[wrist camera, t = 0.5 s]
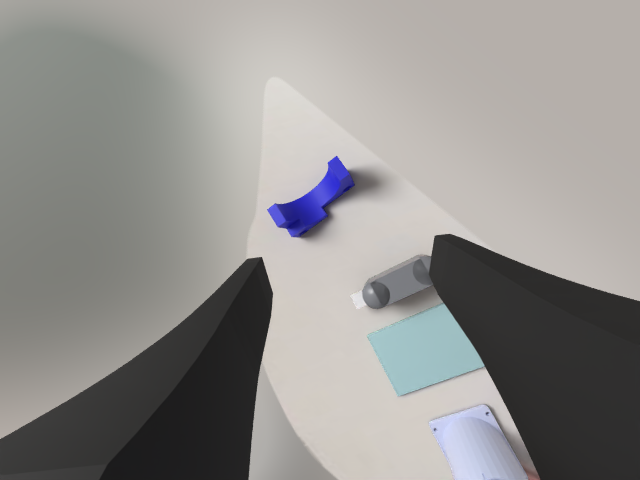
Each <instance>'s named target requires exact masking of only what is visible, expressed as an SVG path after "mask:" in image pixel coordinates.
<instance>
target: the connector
mask: <svg viewBox="0 0 640 480" xmlns="http://www.w3.org/2000/svg"><path fill="white" fill-rule="evenodd" d="M430 262H431V257H429V256H426V255H417V256H415V257H413V258H411V259H409V260H407V261H405V262H403V263H400V264H398V265H396V266H394V267H392V268H390V269H388V270H386V271H384V272H382V273H380V274H378V275H376V276H374V277H372V278H370V279H369V280H368V281H367V282H366V284H365V286H364V289H363V290H360V291H358V292H356V293H354V294H352V295H351V296H350V297H351V299H352V300H353V302H354V304H355V306H356V308H357V309H359V308H361V307H363V306H366V305H368V306H369V307H371V308H375V309H379V308H383V307H385V306H387V305H389V304H392V303H394V302H396V301H398V300H401V299H403V298H405V297H407V296H409V295H412V294H414V293H416V292H418V291H421V290H423V289H425V288H427V287H430V286H432V285H433V283H432V281H431V279H430V276H429V269H430Z"/></svg>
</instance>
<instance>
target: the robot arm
mask: <svg viewBox="0 0 640 480" xmlns="http://www.w3.org/2000/svg"><path fill="white" fill-rule="evenodd" d="M429 276H430V279H431V281H432V283H433V285H434V287H435V289H436V291H437V293H438V295H439V296H440V298H441V299H442V301H443V302H444V304H445V305H446V307H447V308H448V310H449V311H450V313H451V314H452V316H453V317H454V319H455V320H456V322H457V323H458V325H459V326H460V327H461V329H462V330H463V332H464V333H465V335H466V336H467V338H468V339H469V341H470V342H471V344H472V345H473V347H474V348H475V350H476V351H477V353H478V355H479V356H480V358H481V360H482V362H483V364H484V365H485V367H486V369H487V371H488V373H489V375H490V376H491V378H492V380H493V382H494V384H495V386H496V388H497V389H498V391H499V393H500V395H501V397H502V399H503V401H504V403H505V405H506V407H507V409H508V411H509V413H510V415H511V417H512V419H513V421H514V423H515V425H516V427H517V429H518V431H519V433H520V436H521V438H522V440H523V442H524V444H525V446H526V448H527V450H528V452H529V455H530V457H531V459H532V461H533V463H534V466H535V468H536V470H537V472H538V475H539V477H540V479H541V480H640V301H637V300H633V299H629V298H626V297H622V296H618V295H615V294H611V293H607V292H604V291H601V290H597V289H594V288H591V287H587V286H585V285H581V284H578V283H575V282H572V281H569V280H566V279H562V278H560V277H557V276H554V275H551V274H548V273H546V272H543V271H540V270H538V269H535V268H532V267H530V266H527V265H525V264H522V263H519V262H517V261H515V260H512V259H510V258H507V257H505V256H502V255H500V254H498V253H495V252H493V251H491V250H488V249H486V248H484V247H482V246H479V245H477V244H475V243H472V242H470V241H467V240H465V239H463V238H460V237H458V236H455V235H452V234H445V235H436V236H435V238H434V244H433V250H432V256H431V262H430V269H429ZM272 298H273V292H272V289H271V285H270V282H269V279H268V275H267V272H266V269H265V266H264V262H263V259H262V257H258V258H250V259H247V260H246V261H245V262H244V263H243V264H242V265H241V266H240V267H239V268H238V269H237V270H236V271H235V272H234V273H233V274H232V275H231V276H230V277H229V278H228V279H227V280H226V281H225V282H224V283H223V284H222V285H221V287H220V288H218V289H217V290H216V291H215V293H213V294H212V295H211V296H210V297H209V298H208V299H207V300H206V301H205V302H204V303H203V304H202V305H201V306H200V307H199V308H197V309H196V310H195V311H194V312H193V313H192V314H191V315H190V316H189V317H187V318H186V319H185V320H184V321H183V322H181V323H180V324H179V325H178V326H177V327H175V328H174V329H173V330H172V331H170V332H169V333H168V334H166V335H165V336H164V337H162V338H161V339H160V340H158V341H157V342H156V343H154V344H153V345H151V346H150V347H149V348H147V349H146V350H145V351H143V352H142V353H140V354H139V355H138V356H136V357H135V358H133V359H132V360H131V361H129V362H128V363H126V364H125V365H123V366H122V367H120V368H119V369H117V370H116V371H114V372H113V373H111V374H110V375H108V376H107V377H105V378H103V379H102V380H100V381H99V382H97V383H96V384H94V385H92V386H91V387H89V388H88V389H86V390H84V391H83V392H81V393H79V394H78V395H76V396H75V397H73V398H71V399H70V400H68V401H67V402H65V403H63V404H61V405H59V406H58V407H56V408H54V409H52V410H51V411H49V412H47V413H45V414H44V415H42V416H40V417H38V418H37V419H35V420H33V421H32V422H30V423H28V424H26V425H25V426H23V427H21V428H19V429H18V430H16V431H14V432H12V433H11V434H9V435H7V436H5V437H4V438H1V439H0V480H248V477H249V465H250V453H251V440H252V430H253V420H254V409H255V401H256V392H257V383H258V376H259V371H260V365H261V361H262V356H263V351H264V347H265V342H266V337H267V333H268V328H269V323H270V318H271V311H272ZM486 412H489V413H488V414H485V413H486ZM429 426H430V428H431V430H432V432H433V434H434V436H435V438H436V440H437V442H438V444H439V445H440V447H441V449H442V451H443V453H444V455H445V457H446V459H447V461H448V463H449V465H450V468H451V471H452V474H453V478H454V480H528V476H527V474H526V472H525V471H524V469H523V467H522V465H521V464H520V462H519V460H518V458H517V457H516V455H515V453H514V451H513V450H512V448H511V446H510V444H509V442H508V441H507V439H506V437H505V435H504V434H503V432H502V430H501V428H500V427H499V425H498V423H497V421H496V420H495V418H494V416H493V414H492V412H491V411H490V409H489V407H488V406H487V405H480V406H477V407H473V408H470V409H467V410H464V411H461V412H457V413H454V414H451V415H448V416H445V417H441V418H438V419H435V420H432V421H430V422H429ZM434 428H437V429H436V430H434Z"/></svg>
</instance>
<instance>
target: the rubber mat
mask: <svg viewBox="0 0 640 480" xmlns="http://www.w3.org/2000/svg"><path fill="white" fill-rule="evenodd" d="M367 337H368V339H369V341H370V343H371V345H372V347H373V349H374V351H375V353H376V355H377V357H378V359H379V361H380V363H381V364H382V366H383V368H384V370H385V372H386V374H387V376H388V378H389V380H390V382H391V384H392V386H393V388H394V390H395V392H396V394H397V396H401V395H404V394H406V393H409V392H412V391H415V390H418V389H421V388H424V387H426V386H429V385H432V384H435V383H438V382H441V381H444V380H447V379H449V378H452V377H455V376H458V375H461V374H464V373H467V372H469V371H472V370H475V369H478V368H481V367H484V366H485V365H484V364H483V362H482V360H481V358H480V356H479V355H478V353H477V351H476V350H475V348H474V347H473V345H472V344H471V342H470V341H469V339H468V338H467V336H466V335H465V333H464V332H463V330H462V329H461V327H460V326H459V325H458V323H457V322H456V320H455V319H454V317H453V316H452V314H451V313H450V311H449V310H448V308H447V307H446V305H445V304H444V303H441V304H439V305H437V306H434V307H432V308H430V309H427V310H425V311H423V312H420V313H418V314H416V315H413V316H411V317H409V318H406V319H404V320H402V321H399V322H397V323H395V324H392V325H390V326H387V327H385V328H383V329H380V330H378V331H376V332H373V333H371V334H369V335H367Z"/></svg>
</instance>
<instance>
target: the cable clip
mask: <svg viewBox="0 0 640 480" xmlns="http://www.w3.org/2000/svg"><path fill="white" fill-rule="evenodd" d="M354 185H355V184H354V182H353V180H352V178H351V176H350V174H349V172H348V171H347V169H346V168H345V167H344V165H343V164H342V162H341V161H340V160H339V158H338V157H337V156H336V157H334V158H333V159H332V160H331V161H329V162H328V171H327V174H326V176H325V177H324V178H323V180H322V181H321V182H320V183H319V184H318V185H317V186H316V187H315V188H314V189H313V190H311V191H310V192H309V193H307V194H306V195H304V196H303V197H301V198H299V199H297V200H295V201H292V202H289V203H286V204H276V203H275V204H274V205H273V206H271V207H270V208H269V209H267V210H268V212H269V214H270V215H271V217H272V218H273V220H274V222H275V223H276V225H277V227H280V228H286V229H287V230H288V232H289V233H290V235H291V237H300V236H301V235H302V234H304V233H305V232H307V231H308V230H309V229H311V228H312V227H313V226H315V225H316V224H318V223H319V222H320V221H322V220H323V219H325V218H326V217H327V216H328V215H327V213H326V212H325V210H324V209H323V208H324V207H325V206H327V205H328V204H330V203H331V202H332V201H334V200H335V199H336V198H338V197H339V196H341V195H342V194H343V193H345V192H346V191H347V190H349V189H350V188H352V187H353V186H354Z"/></svg>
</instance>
